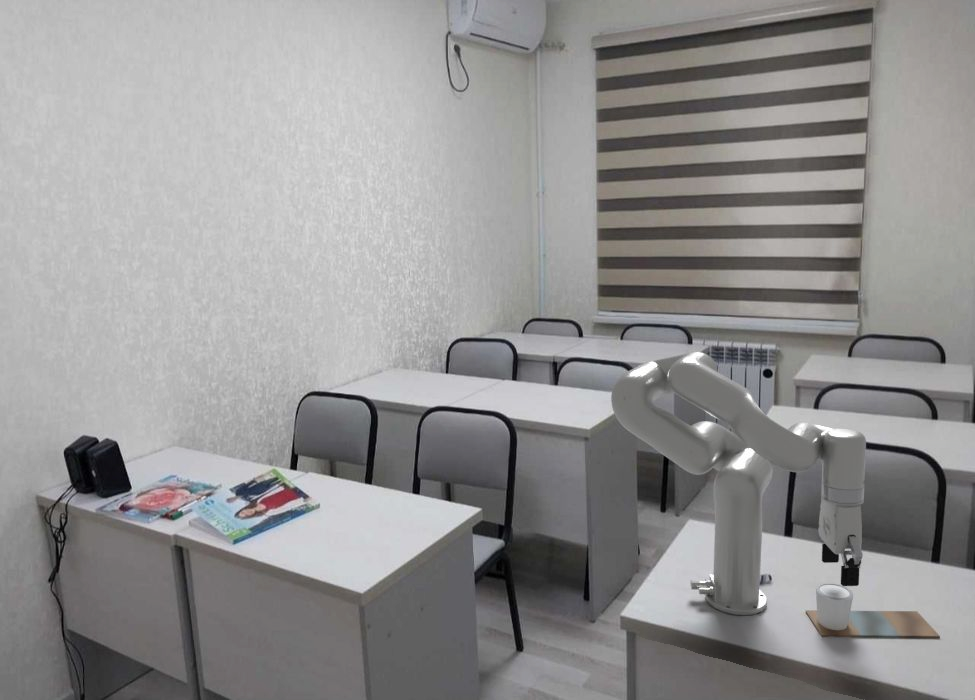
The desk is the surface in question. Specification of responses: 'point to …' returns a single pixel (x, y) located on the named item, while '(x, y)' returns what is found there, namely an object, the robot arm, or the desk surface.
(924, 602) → the desk surface
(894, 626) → the game board
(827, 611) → the white cup
